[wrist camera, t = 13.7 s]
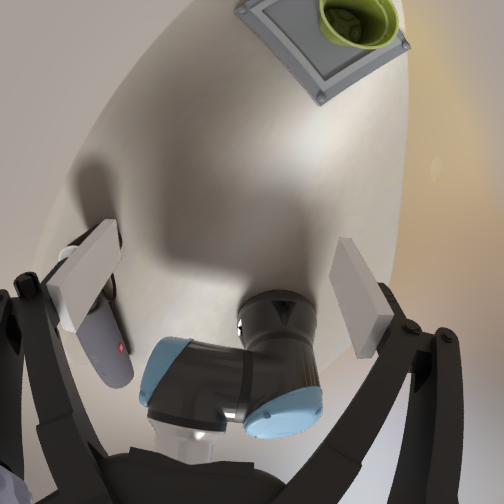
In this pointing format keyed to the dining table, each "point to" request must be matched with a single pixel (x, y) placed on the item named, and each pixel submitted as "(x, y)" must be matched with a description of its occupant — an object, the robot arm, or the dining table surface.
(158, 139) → the dining table surface
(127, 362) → the bluetooth speaker
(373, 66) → the base plate
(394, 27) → the plant pot
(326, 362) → the dining table surface
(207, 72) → the dining table surface
